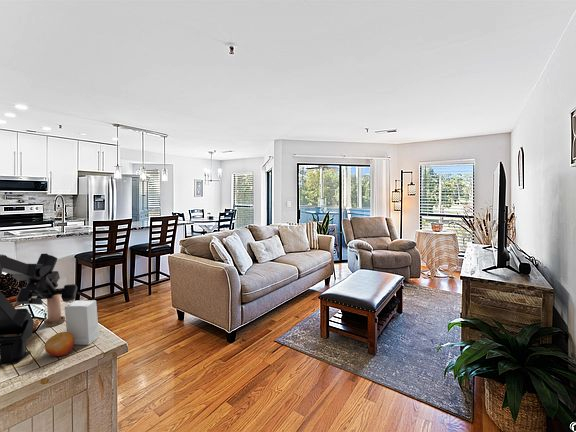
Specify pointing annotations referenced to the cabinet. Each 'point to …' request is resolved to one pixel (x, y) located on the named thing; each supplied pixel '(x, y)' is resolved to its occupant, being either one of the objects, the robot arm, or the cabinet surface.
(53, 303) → the vase
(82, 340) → the skincare box
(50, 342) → the fruit
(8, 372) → the cabinet surface
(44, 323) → the coaster
